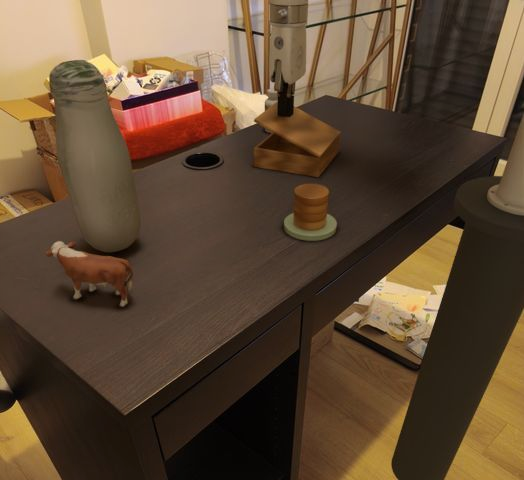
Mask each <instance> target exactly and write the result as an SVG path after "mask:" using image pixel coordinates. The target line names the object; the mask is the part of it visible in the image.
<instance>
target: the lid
mask: <svg viewBox="0 0 524 480" xmlns="http://www.w3.org/2000/svg"><path fill="white" fill-rule="evenodd" d="M277 105H278V101H277V102H276V103H275V104H273V105H272V106H271V107H270V108H268V109H267V110H266V111H265V110H264V111H263V112H261V113H260V114H259V115H257V116H256V117H255V118H254V119H253V122H254V123H256V124H258V125H259V126H261V127H263V128H264V129H265V128H266V129H268V130H270V131H272V132H274V133H276V134H277V135H279V136H281V137H283V138H285V139H286V140H288V141H290V142H292V143H294V144H295V145H297V146H299V147H301V148H303V149H304V150H306V151H308V152H310V153H312V154H313V155H315V156H317V157H319V158H320V157H321V155H322V154H323V153H324V152H325V151H326V150H327V148H328V147H329V146H330V145H331V144H332V143H333V141H334V140H335V139H336V138H337V137H338V136H339V135H340V136H341V133H342V131H339V130H338V129H336V128H334V127H332V126H331V125H329V124H327V123H325V122H323V121H321V120H320V119H318V118H316V117H314V116H313V115H311V114H309V113H307V112H306V111H303V110H302V109H300V108H298V107H296V106H294V113H293V115H292V116H291V117H283V116H278V115H277Z"/></svg>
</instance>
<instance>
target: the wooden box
mask: <svg viewBox="0 0 524 480" xmlns="http://www.w3.org/2000/svg"><path fill="white" fill-rule="evenodd" d="M340 139H341V134H340V135H339V136H338V137H337V138H336V139H335V140H334V141H333V143H332V144H331V145H330V146H329V147H328V148H327V150H326V151H325V152H324V153H323V154H322V155H321V157H320V158H319V157H317V156H315V155H313V154H312V153H310V152H308V151H306V150H304V149H303V148H301V147H299V146H297V145H295V144H294V143H292V142H290V141H288V140H286V139H285V138H283V137H281V136H279V135H277V134H276V133H274V132H272V133H269V134H268V135H267V136H266V137H265V138H264V139H262V141H261V142H259V143H258V144H257V145H256V146H255V147H254V148H253V167H254V168H260V169H264V170H265V169H266V170H272V171H277V172H278V171H279V172H284V173H290V174H295V175H301V176H309V177H314V178H319V177H320V176H321V175H322V174H323V172H324V171H325V170H326V169H327V167H328V166H329V165H330V164H331V162H332V161H333V160H334V159H335V157H336V156H337V155H338V154H339V150H340Z"/></svg>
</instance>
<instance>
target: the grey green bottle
mask: <svg viewBox="0 0 524 480" xmlns="http://www.w3.org/2000/svg"><path fill="white" fill-rule="evenodd" d="M48 81H49V82H48V84H49V91H50V94H51V96H52V100H53V105H54V106H53V107H54V114H55V115H54V116H55V145H56V146H55V147H56V157H57V162H58V165H59V168H60V172H61V175H62V178H63V183H64V184H65V188H66V192H67V195H68V198H69V201H70V204H71V207H72V210H73V213H74V217H75V220H76V223H77V226H78V228H79V231H80V233H81V235H82V237H83V239H84V240H85V241H86V243H87V244H88V245H89V246H91V247H92V248H94V249H95V250H97V251H99V252H103V253H116V252H121V251H122V250H125V249H127V248H129V247H130V246H131V245H133V244H134V242H135V241H136V240H137V238H138V236H139V234H140V230H141V223H142V222H141V213H140V207H139V202H138V197H137V196H138V195H137V192H136V185H135V184H136V183H135V179H134V172H133V167H132V160H131V155H130V152H129V148H128V146H127V143H126V140H125V138H124V136H123V133H122V131H121V128H120V126H119V124H118V121H117V120H116V118H115V115H114V114H113V110H112V107H111V103H110V100H109V95H108V89H107V84H106V81H105V79H104V76H103V75H102V73H101V71H100V70H99V68H98V67H97V66H96V65H94V64H93V63H92V62H89V61H87V60H85V59H74V60H66V61H62V62H60V63H59V64H57V65H56V66H54V67H53V68H52V70H51V71H50V73H49V76H48Z"/></svg>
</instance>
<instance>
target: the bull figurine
mask: <svg viewBox="0 0 524 480" xmlns="http://www.w3.org/2000/svg"><path fill="white" fill-rule="evenodd" d="M76 245H77V244H76V242H74V241H73V242H72V241H70V242H68V243H67V244H65V242H64V241H61V240H57V241H56V242H54V243H53V244H52V245H51V248H50V250H47V251H46V252H45V256H46V257H47V258H51V257H54V258H56V259H57V260H58V262H59V264H60V265H61V266H62V268H63V269H64V271H65V274H66V276H67V277H69V278H70V279H71V281H72V283H73V289H74V291H75V292H74V295H73V296H72V299H73V300H79V299H80V298H82V297H83V296H82V293H81V289H82V287H81V285H82V283H87V284H88V291H89V292H90V293H92V292H94V291H95V290H97V288H98V287H97V286H102V287H107V285H108V284H110V285H112V286H113V287H114V288H115V289H116V291H115V292H114V294H115V295H116V296H120V297H121V300H120V303H119V307H121V308H123V307H125V306H126V305H128V303H129V301H128V293H129V292H128V291H131V290H132V287H133V276H134V270H133V268H132V266H131V263H130V262H129V261H128V260H127V259H125V258H120V257H115V256H111V255H99V254H94V253H89V252H86V251H82V250H76V249H73V248H75V247H76ZM128 276H129V278H128V279H127V277H128Z"/></svg>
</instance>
